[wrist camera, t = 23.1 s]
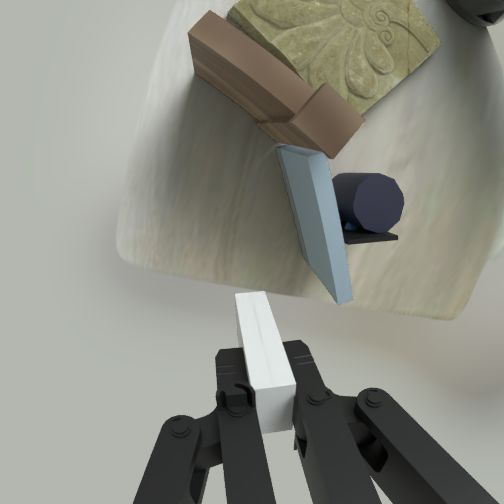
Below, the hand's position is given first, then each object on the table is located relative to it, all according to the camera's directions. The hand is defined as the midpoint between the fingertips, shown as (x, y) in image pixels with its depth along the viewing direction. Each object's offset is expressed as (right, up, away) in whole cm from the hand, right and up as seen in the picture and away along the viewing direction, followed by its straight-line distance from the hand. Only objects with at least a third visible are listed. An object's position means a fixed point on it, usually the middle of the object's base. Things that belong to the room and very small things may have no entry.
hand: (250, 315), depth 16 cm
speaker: (+10, +10, +20) cm, 25 cm away
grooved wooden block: (-1, +19, +14) cm, 24 cm away
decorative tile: (+10, +30, +13) cm, 34 cm away
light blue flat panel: (+5, +9, +19) cm, 22 cm away
